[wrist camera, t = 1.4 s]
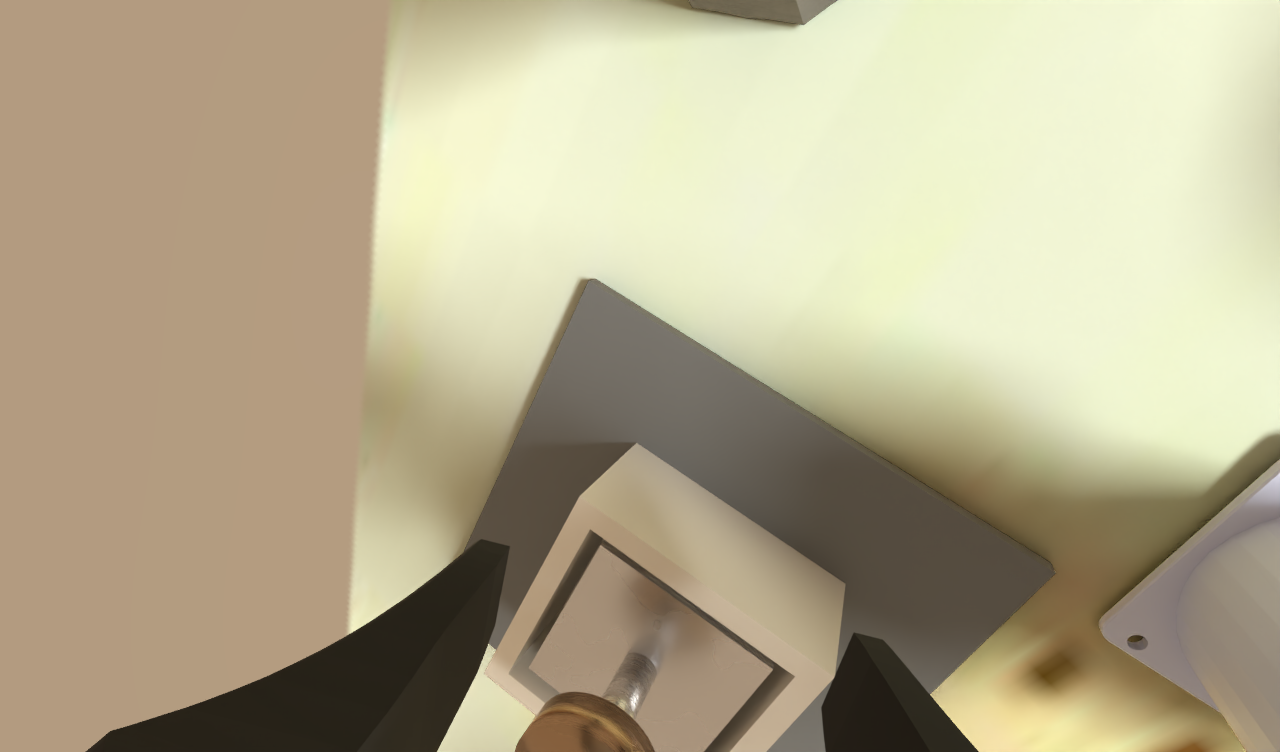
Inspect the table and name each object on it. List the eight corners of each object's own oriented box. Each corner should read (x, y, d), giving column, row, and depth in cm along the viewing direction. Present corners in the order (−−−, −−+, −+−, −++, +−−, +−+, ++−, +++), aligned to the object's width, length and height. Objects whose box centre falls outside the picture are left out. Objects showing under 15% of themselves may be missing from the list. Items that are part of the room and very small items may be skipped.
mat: (1050, 563, 20) (1055, 573, 19) (762, 845, 27) (759, 858, 26) (595, 278, 23) (588, 280, 22) (447, 597, 30) (439, 604, 30)
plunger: (775, 658, 19) (739, 803, 14) (680, 772, 21) (623, 925, 17) (607, 537, 20) (523, 634, 16) (535, 659, 23) (446, 773, 18)
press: (845, 583, 22) (834, 677, 17) (721, 730, 25) (687, 837, 21) (636, 442, 23) (579, 496, 19) (548, 599, 27) (483, 673, 23)
